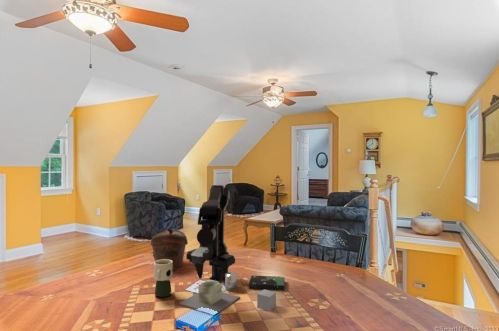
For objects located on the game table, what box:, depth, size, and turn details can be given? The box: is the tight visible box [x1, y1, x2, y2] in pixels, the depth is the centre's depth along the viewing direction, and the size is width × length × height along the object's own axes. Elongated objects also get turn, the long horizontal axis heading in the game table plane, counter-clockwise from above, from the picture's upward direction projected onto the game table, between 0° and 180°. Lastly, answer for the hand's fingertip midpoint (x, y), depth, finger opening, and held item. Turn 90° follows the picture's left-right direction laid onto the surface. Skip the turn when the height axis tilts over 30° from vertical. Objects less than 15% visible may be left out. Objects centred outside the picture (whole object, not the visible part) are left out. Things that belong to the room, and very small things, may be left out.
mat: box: [178, 291, 241, 313], centre depth 116 cm, size 16×16×1 cm
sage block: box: [198, 279, 223, 305], centre depth 116 cm, size 6×6×6 cm
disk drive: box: [248, 275, 286, 292], centre depth 132 cm, size 10×3×15 cm
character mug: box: [153, 259, 174, 298], centre depth 121 cm, size 11×7×13 cm, turn 174°
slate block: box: [256, 289, 277, 312], centre depth 112 cm, size 5×5×5 cm
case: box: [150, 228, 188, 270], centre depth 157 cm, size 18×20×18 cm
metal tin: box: [224, 271, 238, 292], centre depth 128 cm, size 5×5×6 cm
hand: (210, 280), depth 116 cm, fingers open, 9 cm apart
